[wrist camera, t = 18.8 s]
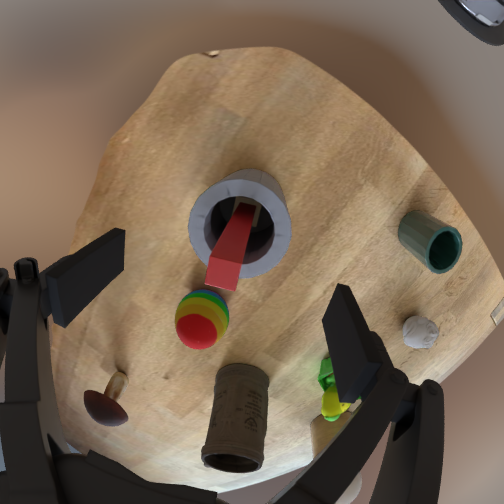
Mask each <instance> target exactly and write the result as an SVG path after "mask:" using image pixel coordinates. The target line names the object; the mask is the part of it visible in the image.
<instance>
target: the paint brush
mask: <svg viewBox="0 0 504 504" xmlns="http://www.w3.org/2000/svg"><path fill="white" fill-rule="evenodd" d="M261 207H262V204H261V203H259V202H257V201H256V200H254V199H252V198H248V197H244V196H236V199H235V203H234V208H233V212H232V217H231V219H230V220H229V222H228V224H227V226H226V227H225V229H224V231H223V233H222V234H221V236H220V238H219V240H218V242H217V243H216V245H215V247H214V249H213V251H212V252H211V254H210V256H209V261H208V267H207V272H206V278H205V284H207V285H211V286H215V287H219V288H223V289H227V290H231V291H236V287H237V283H238V278H239V274H240V270H241V266H242V262H243V258H244V254H245V250H246V246H247V242H248V238H249V234H250V230H251V226H254V227H256V226H257V222H258V218H259V215H260V211H261Z"/></svg>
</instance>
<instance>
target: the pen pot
mask: <svg viewBox="0 0 504 504" xmlns="http://www.w3.org/2000/svg"><path fill="white" fill-rule="evenodd" d="M398 237H399V241H400V243H401V244H402V246H403V247H405V249H406V250H408V251H409V252H410V253H411V254H412V255H413V256H415V257H416V258H417V259H418V260H419V261H420V262H421V263H422V264H424V265H425V266H426V267H427V268H428V269H429V270H430V271H431V272H433V273H436V274H441V273H445V272H447V271H449V270H450V269H452V268H453V267H454V265H455V264H456V263H457V261H458V259H459V257H460V255H461V251H462V239H461V235H460V233H459V232H458V230H457V229H456V228H454V227H452V226H450V225H448V224H447V223H445V222H443V221H441V220H439V219H437V218H435V217H433V216H431V215H429V214H427V213H425V212H423V211H420V210H414V211H411V212H409V213H408V214H406V215H405V216H404V217H403V219H402V220H401V222H400V225H399V229H398Z"/></svg>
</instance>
